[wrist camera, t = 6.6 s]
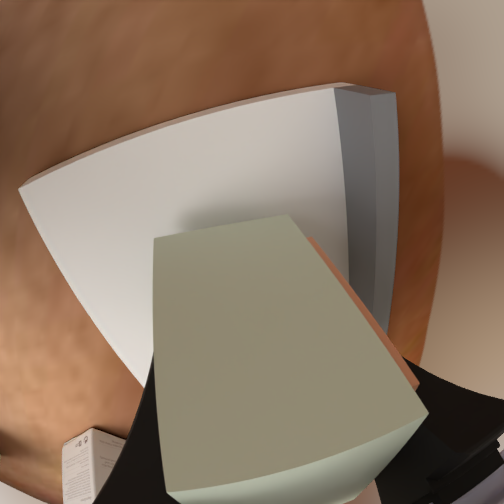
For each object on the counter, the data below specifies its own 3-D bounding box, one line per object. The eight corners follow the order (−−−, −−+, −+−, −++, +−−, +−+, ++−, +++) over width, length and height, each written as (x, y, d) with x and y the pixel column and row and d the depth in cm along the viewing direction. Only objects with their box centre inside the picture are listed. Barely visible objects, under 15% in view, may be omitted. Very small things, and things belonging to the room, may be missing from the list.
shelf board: (29, 178, 10) (-10, 218, 7) (345, 81, 11) (400, 92, 8) (179, 414, 20) (185, 458, 18) (355, 356, 22) (377, 395, 19)
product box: (192, 368, 14) (226, 534, 8) (153, 237, 10) (166, 492, 4) (295, 345, 15) (364, 495, 8) (298, 212, 11) (444, 404, 5)
